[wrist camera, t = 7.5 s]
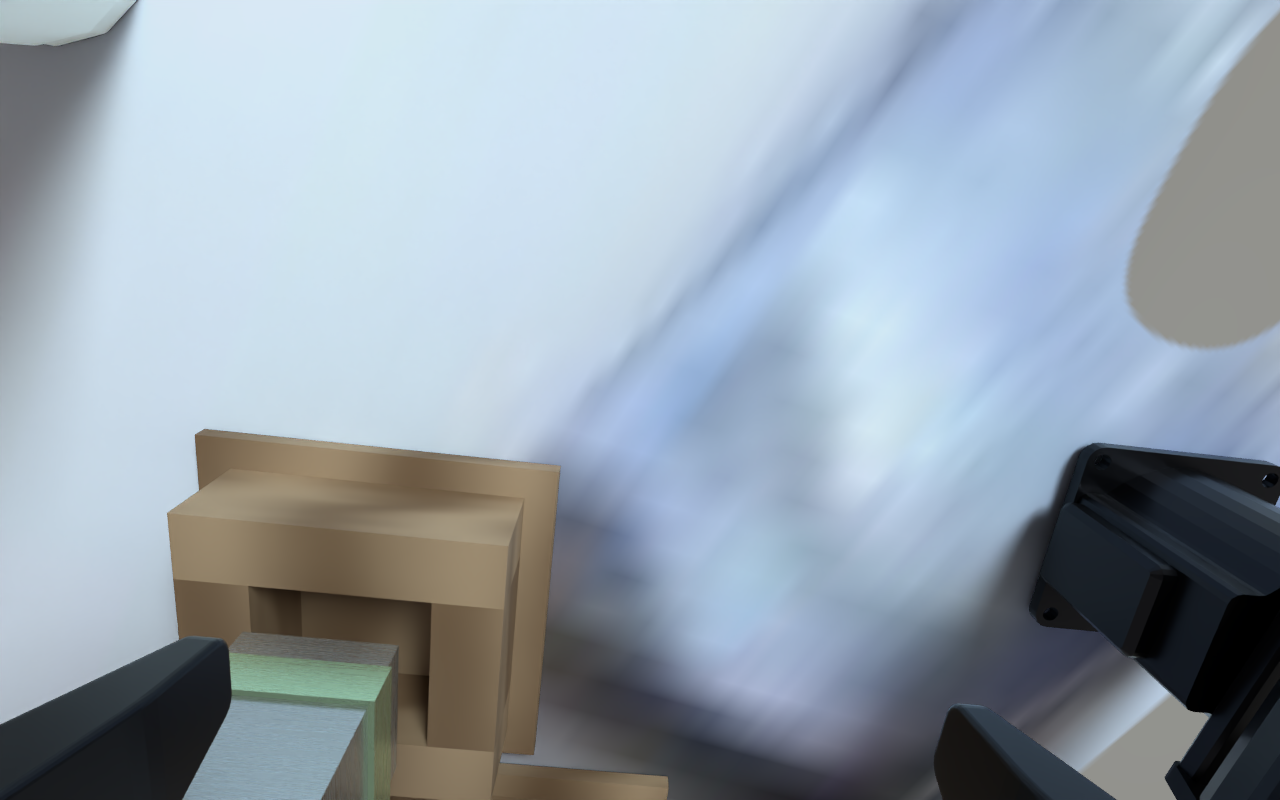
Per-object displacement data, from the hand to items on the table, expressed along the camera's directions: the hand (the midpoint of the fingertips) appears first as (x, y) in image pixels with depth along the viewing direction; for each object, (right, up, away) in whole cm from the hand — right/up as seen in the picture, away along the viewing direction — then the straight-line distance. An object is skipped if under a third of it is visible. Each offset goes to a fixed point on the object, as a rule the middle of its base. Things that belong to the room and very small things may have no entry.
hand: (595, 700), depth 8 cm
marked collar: (-8, -3, +14) cm, 17 cm away
